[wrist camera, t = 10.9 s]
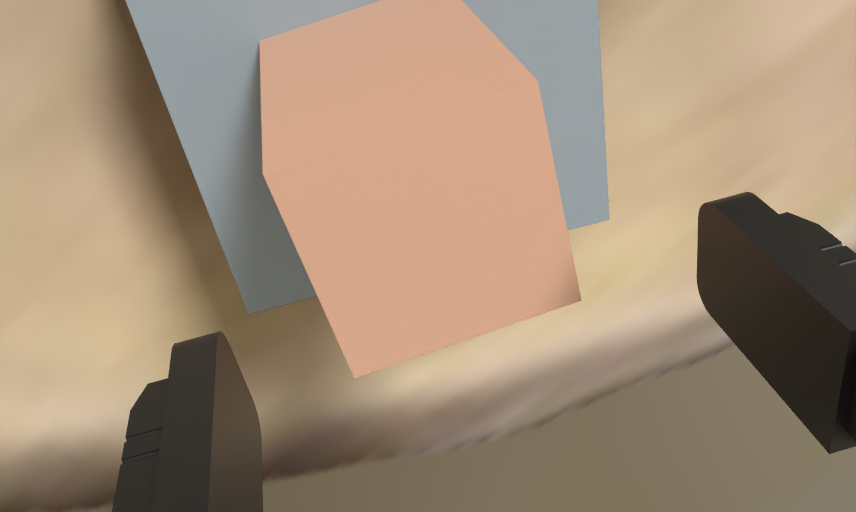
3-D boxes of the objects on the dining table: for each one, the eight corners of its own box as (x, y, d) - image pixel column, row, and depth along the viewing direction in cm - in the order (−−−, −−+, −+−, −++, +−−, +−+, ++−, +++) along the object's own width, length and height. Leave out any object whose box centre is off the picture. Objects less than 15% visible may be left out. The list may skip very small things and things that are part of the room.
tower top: (114, -113, 21) (88, -94, 17) (535, -206, 22) (587, -204, 18) (248, 250, 27) (247, 314, 24) (566, 168, 28) (609, 219, 25)
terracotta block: (259, 41, 20) (262, 174, 13) (441, -21, 20) (537, 80, 13) (324, 201, 22) (354, 378, 16) (484, 146, 23) (581, 300, 16)
